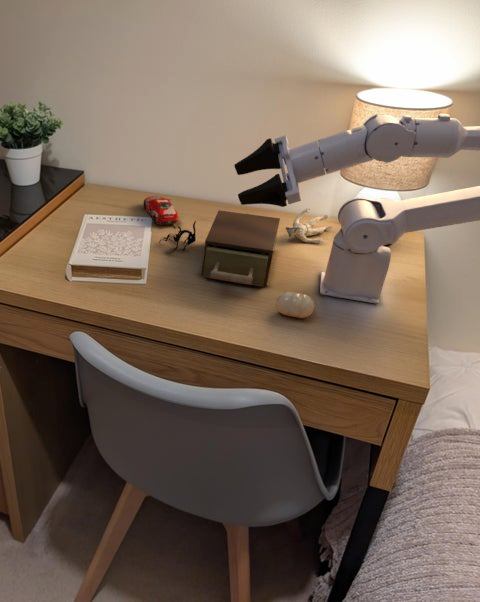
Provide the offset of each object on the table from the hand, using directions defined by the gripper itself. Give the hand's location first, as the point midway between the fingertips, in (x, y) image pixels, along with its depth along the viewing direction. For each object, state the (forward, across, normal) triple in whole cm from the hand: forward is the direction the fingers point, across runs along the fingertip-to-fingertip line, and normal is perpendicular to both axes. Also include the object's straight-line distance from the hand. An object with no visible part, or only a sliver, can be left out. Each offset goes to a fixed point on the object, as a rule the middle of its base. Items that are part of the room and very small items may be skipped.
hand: (237, 184), depth 97 cm
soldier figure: (-7, -10, +29) cm, 32 cm away
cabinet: (+5, +2, +18) cm, 19 cm away
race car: (+22, -18, +18) cm, 34 cm away
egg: (-3, +18, +15) cm, 24 cm away
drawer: (+5, +6, +15) cm, 17 cm away
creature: (+17, -4, +15) cm, 23 cm away
